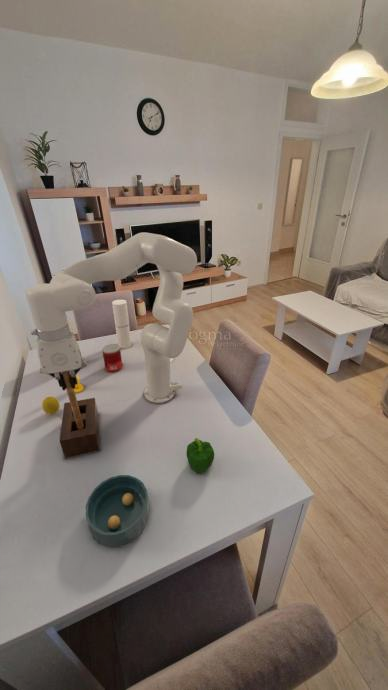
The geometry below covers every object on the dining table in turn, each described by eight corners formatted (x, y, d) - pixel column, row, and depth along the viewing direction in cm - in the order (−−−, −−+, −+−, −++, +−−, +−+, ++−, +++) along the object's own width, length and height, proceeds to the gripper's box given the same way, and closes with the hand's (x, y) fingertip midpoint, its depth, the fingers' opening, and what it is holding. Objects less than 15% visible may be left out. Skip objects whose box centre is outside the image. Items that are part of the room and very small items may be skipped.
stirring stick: (84, 427, 92) (69, 368, 80) (84, 432, 91) (68, 372, 79) (78, 429, 92) (61, 370, 80) (78, 433, 90) (61, 374, 78)
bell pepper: (216, 475, 83) (218, 452, 78) (189, 480, 82) (190, 457, 77) (209, 452, 90) (210, 430, 85) (184, 456, 89) (184, 434, 84)
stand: (98, 413, 105) (94, 397, 101) (99, 450, 90) (95, 433, 86) (68, 419, 102) (64, 403, 98) (64, 458, 88) (59, 441, 84)
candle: (73, 394, 115) (65, 363, 107) (68, 388, 118) (60, 357, 110) (85, 389, 118) (78, 358, 110) (81, 383, 121) (74, 353, 113)
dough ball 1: (120, 518, 71) (118, 511, 70) (121, 529, 69) (119, 523, 68) (108, 521, 71) (106, 515, 69) (108, 533, 68) (107, 527, 67)
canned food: (125, 366, 133) (123, 346, 128) (113, 374, 127) (110, 354, 122) (114, 361, 137) (111, 342, 131) (102, 369, 131) (98, 349, 125)
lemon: (55, 419, 102) (50, 403, 98) (42, 417, 103) (36, 401, 99) (64, 409, 107) (59, 393, 103) (51, 407, 108) (46, 391, 104)
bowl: (144, 482, 81) (142, 468, 78) (154, 536, 68) (152, 522, 65) (89, 497, 77) (86, 483, 74) (89, 557, 64) (84, 544, 61)
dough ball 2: (133, 495, 77) (132, 489, 75) (134, 506, 74) (133, 499, 73) (122, 498, 76) (121, 492, 74) (123, 509, 73) (122, 502, 72)
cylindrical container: (115, 347, 149) (109, 304, 136) (121, 341, 155) (115, 299, 143) (128, 348, 148) (123, 305, 135) (133, 342, 154) (128, 300, 142)
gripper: (17, 342, 67) (37, 400, 77) (85, 333, 72) (97, 389, 81) (23, 329, 74) (41, 384, 83) (86, 322, 78) (97, 374, 87)
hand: (69, 386), depth 82 cm, fingers closed on stirring stick, 2 cm apart
